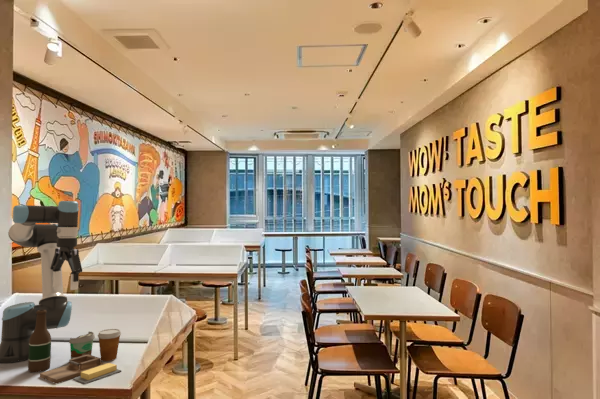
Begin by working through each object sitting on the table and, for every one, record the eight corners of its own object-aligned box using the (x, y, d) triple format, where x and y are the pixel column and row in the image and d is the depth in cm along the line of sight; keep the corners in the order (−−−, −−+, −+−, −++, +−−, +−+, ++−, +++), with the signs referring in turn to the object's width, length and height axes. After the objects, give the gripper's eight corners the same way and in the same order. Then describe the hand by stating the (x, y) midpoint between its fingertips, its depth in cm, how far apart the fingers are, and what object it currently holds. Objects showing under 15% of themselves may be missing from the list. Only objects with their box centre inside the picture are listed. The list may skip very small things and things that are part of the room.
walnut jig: (39, 377, 156) (40, 366, 156) (89, 362, 173) (89, 352, 173) (56, 383, 150) (56, 372, 150) (106, 367, 167) (106, 357, 167)
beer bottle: (29, 367, 166) (32, 309, 167) (51, 365, 169) (54, 307, 171) (25, 374, 159) (28, 312, 160) (48, 371, 162) (50, 311, 163)
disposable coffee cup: (104, 364, 171) (105, 335, 171) (92, 359, 176) (93, 332, 176) (125, 357, 179) (125, 330, 180) (112, 353, 184) (113, 327, 185)
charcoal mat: (73, 379, 154) (73, 378, 154) (109, 367, 166) (109, 366, 166) (84, 384, 149) (84, 382, 149) (121, 371, 162) (121, 370, 162)
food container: (80, 363, 172) (81, 339, 172) (68, 362, 173) (69, 338, 173) (100, 354, 184) (101, 331, 184) (88, 353, 185) (89, 331, 186)
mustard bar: (78, 377, 154) (86, 358, 157) (103, 380, 163) (110, 363, 166) (86, 379, 151) (94, 360, 154) (111, 383, 160) (118, 365, 163)
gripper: (42, 237, 173) (40, 286, 171) (74, 238, 159) (72, 292, 158) (60, 236, 179) (58, 284, 178) (92, 237, 166) (90, 289, 165)
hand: (65, 288), depth 168 cm, fingers open, 13 cm apart
